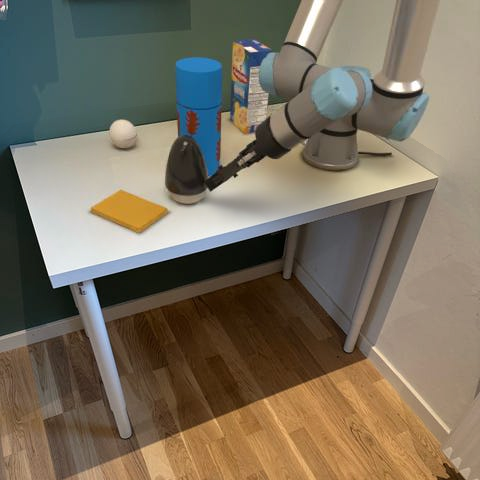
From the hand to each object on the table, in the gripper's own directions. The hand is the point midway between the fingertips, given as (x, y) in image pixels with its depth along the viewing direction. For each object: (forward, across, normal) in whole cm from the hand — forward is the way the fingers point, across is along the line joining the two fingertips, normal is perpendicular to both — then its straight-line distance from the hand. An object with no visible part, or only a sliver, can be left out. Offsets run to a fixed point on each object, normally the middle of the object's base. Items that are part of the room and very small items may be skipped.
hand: (208, 185), depth 107 cm
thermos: (+13, +14, +5) cm, 20 cm away
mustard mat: (+13, -13, +5) cm, 19 cm away
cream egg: (+29, +13, +21) cm, 38 cm away
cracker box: (+15, +46, +8) cm, 49 cm away
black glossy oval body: (+8, 0, 0) cm, 8 cm away
